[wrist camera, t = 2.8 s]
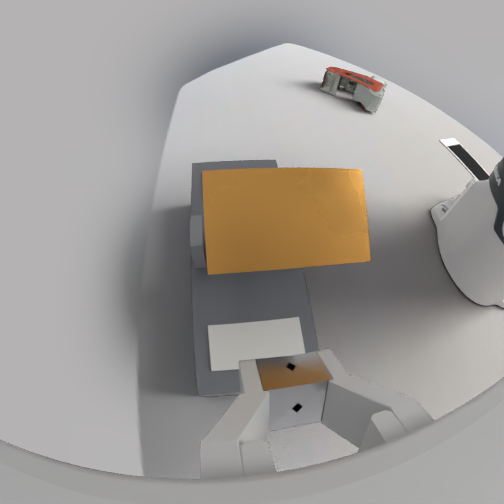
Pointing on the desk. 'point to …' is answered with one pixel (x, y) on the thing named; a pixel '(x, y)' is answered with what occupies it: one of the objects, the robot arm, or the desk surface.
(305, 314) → the block
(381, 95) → the tape dispenser
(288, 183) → the lever
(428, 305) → the desk surface
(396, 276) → the desk surface
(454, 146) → the cell phone
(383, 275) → the desk surface
